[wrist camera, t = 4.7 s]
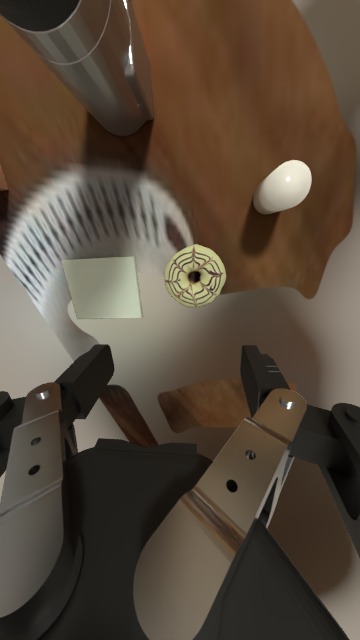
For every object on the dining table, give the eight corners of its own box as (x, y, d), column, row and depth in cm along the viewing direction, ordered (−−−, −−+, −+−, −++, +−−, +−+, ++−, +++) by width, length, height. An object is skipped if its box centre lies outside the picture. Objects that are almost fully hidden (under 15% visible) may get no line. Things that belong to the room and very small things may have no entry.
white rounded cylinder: (288, 176, 31) (315, 158, 24) (283, 213, 33) (307, 207, 25) (254, 179, 31) (270, 162, 24) (251, 215, 33) (265, 210, 26)
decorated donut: (235, 271, 37) (239, 275, 34) (197, 312, 41) (197, 319, 38) (192, 232, 35) (191, 232, 32) (156, 279, 39) (152, 283, 36)
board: (135, 256, 38) (133, 256, 37) (143, 316, 42) (141, 318, 41) (64, 259, 39) (61, 260, 38) (79, 317, 44) (77, 319, 43)
